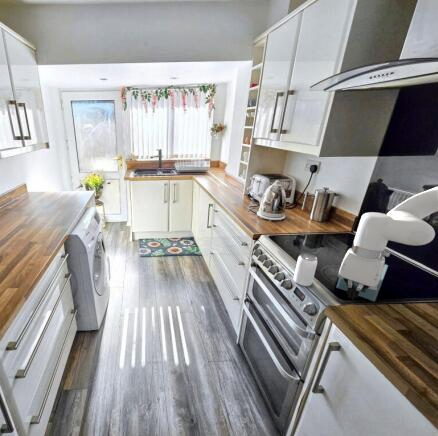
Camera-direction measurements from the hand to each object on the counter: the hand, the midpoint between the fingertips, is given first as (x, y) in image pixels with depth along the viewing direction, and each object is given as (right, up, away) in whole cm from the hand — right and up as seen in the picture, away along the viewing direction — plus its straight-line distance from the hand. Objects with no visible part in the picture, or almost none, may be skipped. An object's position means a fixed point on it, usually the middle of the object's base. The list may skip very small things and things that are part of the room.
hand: (351, 296), depth 83 cm
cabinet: (+12, 0, +11) cm, 17 cm away
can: (-7, +1, +15) cm, 17 cm away
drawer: (+10, 0, +9) cm, 13 cm away
